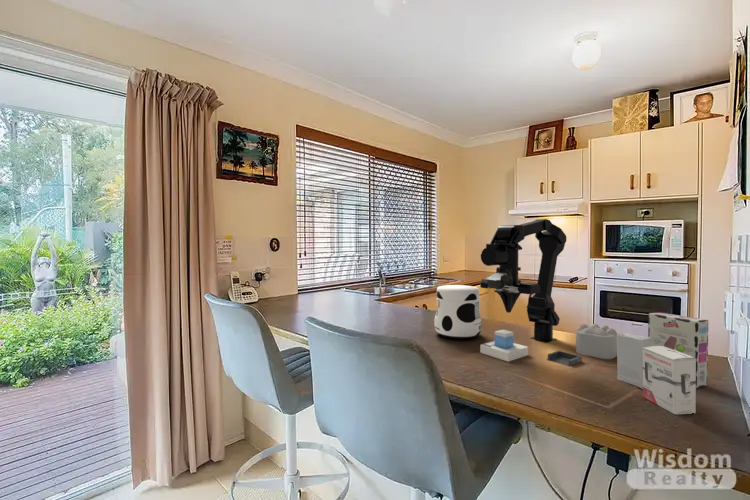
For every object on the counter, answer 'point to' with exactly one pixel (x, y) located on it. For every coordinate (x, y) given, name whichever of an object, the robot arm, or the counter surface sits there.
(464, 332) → the milk container
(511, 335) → the plug
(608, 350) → the grey lumpy container
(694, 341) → the candy bar box
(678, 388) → the ink box
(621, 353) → the skincare box
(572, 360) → the grey shallow square piece
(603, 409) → the counter surface
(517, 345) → the port
